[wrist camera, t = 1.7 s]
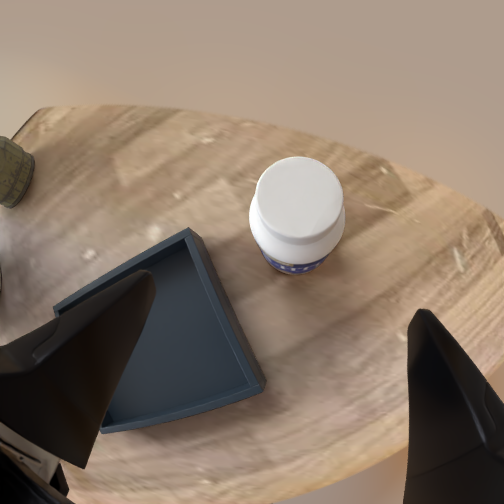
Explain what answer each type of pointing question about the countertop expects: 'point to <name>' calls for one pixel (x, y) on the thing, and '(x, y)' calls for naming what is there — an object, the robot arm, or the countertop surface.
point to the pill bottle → (297, 214)
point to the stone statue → (14, 172)
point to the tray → (178, 340)
